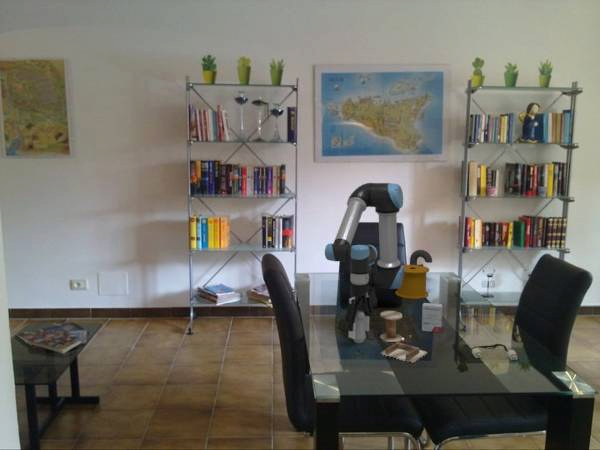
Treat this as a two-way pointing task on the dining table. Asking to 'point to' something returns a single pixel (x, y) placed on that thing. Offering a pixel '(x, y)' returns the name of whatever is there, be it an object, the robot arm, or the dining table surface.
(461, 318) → the dining table surface
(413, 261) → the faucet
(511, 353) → the cable
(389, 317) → the bobbin
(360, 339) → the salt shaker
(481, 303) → the dining table surface
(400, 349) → the board
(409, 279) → the spool
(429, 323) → the ink box
